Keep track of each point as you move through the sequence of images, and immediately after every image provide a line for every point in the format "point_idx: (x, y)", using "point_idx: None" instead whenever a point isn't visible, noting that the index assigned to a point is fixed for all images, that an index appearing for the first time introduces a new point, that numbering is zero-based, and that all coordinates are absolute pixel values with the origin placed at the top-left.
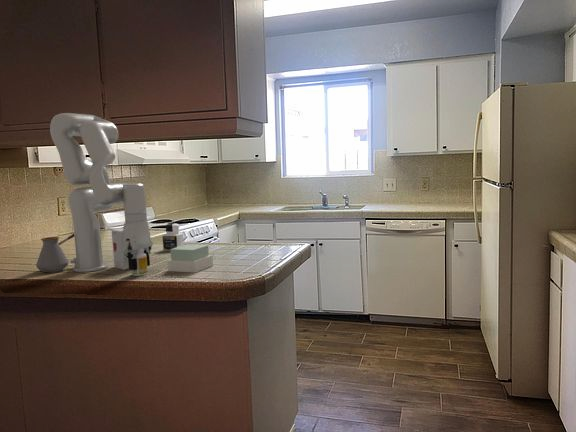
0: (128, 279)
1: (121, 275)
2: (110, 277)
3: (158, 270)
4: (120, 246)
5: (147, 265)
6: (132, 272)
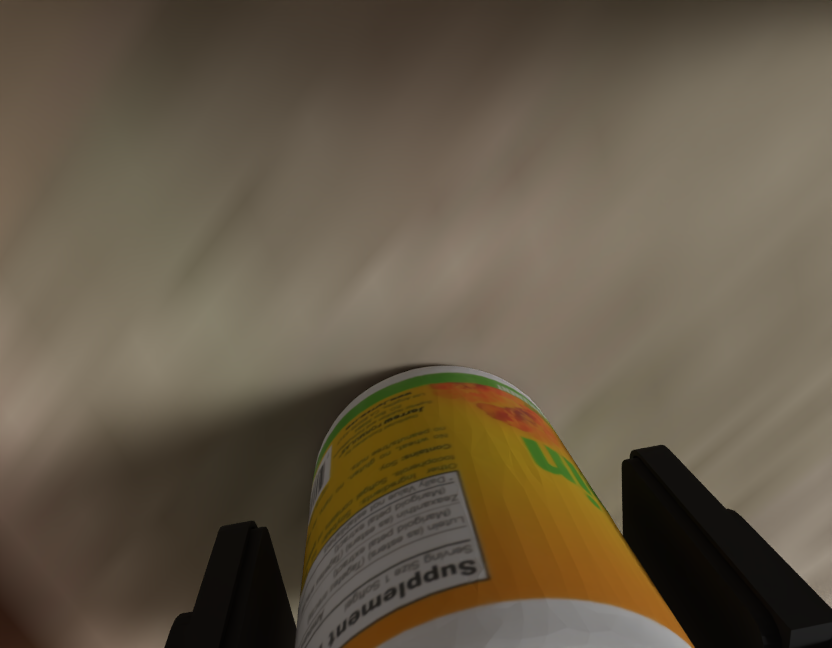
0: (111, 569)
1: (244, 223)
2: (9, 151)
3: (741, 500)
4: None
5: None
6: (321, 459)
